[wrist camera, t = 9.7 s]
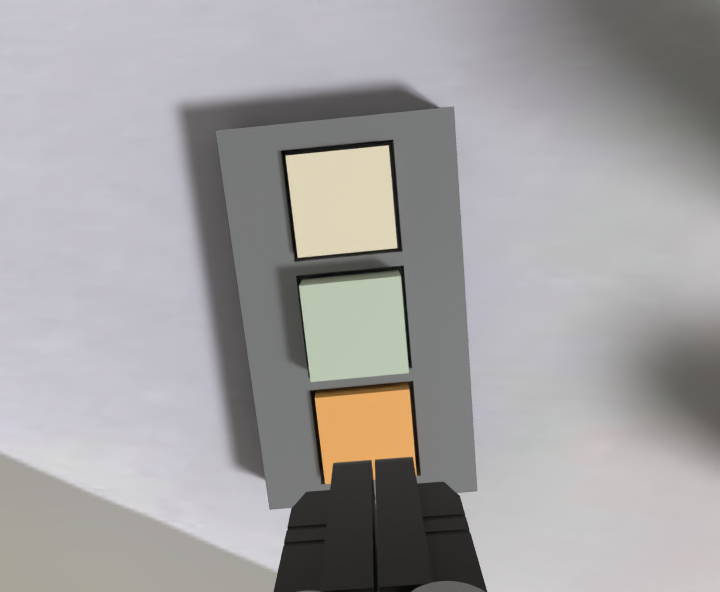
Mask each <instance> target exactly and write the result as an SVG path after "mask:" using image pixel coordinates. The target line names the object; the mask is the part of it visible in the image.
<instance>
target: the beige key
mask: <svg viewBox="0 0 720 592" xmlns="http://www.w3.org/2000/svg"><path fill="white" fill-rule="evenodd" d="M286 164H287V172H288V181H289V189H290V197H291V206H292V214H293V222H294V231H295V239H296V247H297V256H298V258H301V257H311V256H321V255H332V254H342V253H353V252H363V251H373V250H384V249H394V248H397V238H396V226H395V214H394V202H393V190H392V178H391V166H390V154H389V145H387V146H377V147H367V148H357V149H347V150H337V151H327V152H317V153H307V154H297V155H287V156H286Z"/></svg>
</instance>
